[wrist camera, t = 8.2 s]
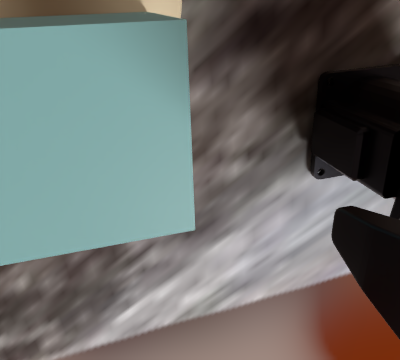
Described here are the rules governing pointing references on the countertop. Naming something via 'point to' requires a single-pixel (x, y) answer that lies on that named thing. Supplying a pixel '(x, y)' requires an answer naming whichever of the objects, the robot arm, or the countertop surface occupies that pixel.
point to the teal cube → (93, 132)
